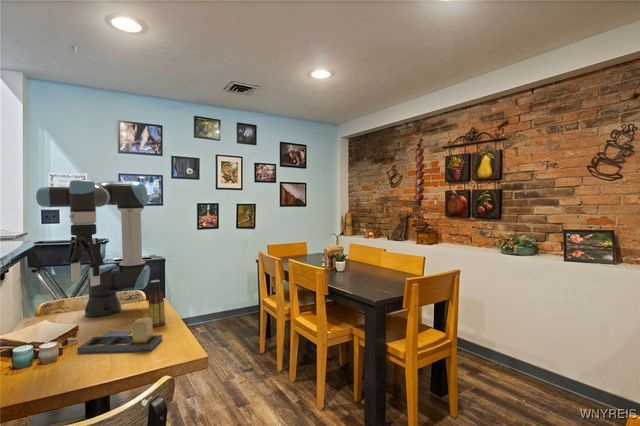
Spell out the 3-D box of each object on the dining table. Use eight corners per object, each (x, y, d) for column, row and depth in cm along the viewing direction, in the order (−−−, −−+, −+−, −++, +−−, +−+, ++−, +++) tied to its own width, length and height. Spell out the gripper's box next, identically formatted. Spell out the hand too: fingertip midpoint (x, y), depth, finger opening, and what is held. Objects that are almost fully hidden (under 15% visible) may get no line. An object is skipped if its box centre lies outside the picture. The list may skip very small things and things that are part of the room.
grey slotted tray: (94, 341, 132) (94, 336, 132) (162, 340, 134) (162, 335, 134) (77, 353, 122) (77, 348, 122) (150, 351, 124) (150, 346, 124)
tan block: (139, 343, 131) (139, 317, 130) (152, 343, 131) (152, 317, 131) (133, 349, 126) (132, 322, 125) (147, 348, 126) (146, 322, 126)
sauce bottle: (162, 321, 155) (161, 278, 154) (167, 324, 150) (166, 280, 149) (147, 324, 150) (145, 280, 149) (151, 328, 146) (150, 283, 145)
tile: (109, 332, 142) (109, 330, 142) (131, 331, 142) (131, 330, 142) (96, 341, 133) (96, 339, 133) (119, 340, 133) (119, 339, 133)
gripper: (55, 223, 123) (56, 281, 124) (90, 225, 110) (91, 289, 111) (78, 222, 129) (79, 277, 130) (113, 224, 117) (115, 284, 117)
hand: (85, 283), depth 121 cm, fingers open, 13 cm apart
